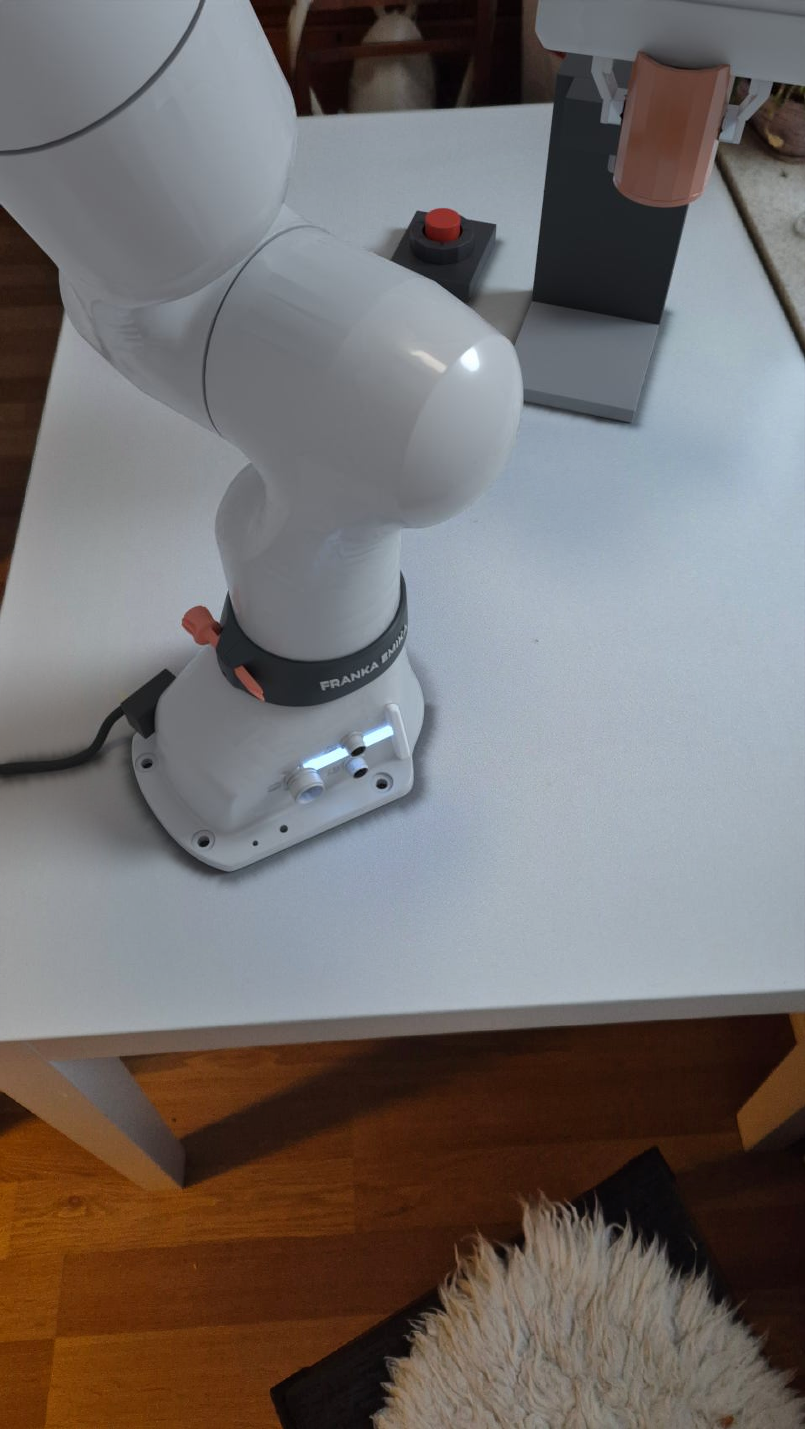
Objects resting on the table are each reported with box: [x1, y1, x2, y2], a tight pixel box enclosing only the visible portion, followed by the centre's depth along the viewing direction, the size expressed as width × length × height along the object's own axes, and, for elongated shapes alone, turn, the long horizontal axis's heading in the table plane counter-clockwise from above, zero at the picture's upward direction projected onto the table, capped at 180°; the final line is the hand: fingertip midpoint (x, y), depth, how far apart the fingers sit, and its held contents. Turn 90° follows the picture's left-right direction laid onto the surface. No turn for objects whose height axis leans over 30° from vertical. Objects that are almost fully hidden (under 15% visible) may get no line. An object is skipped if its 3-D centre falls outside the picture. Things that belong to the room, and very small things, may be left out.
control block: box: [390, 210, 498, 304], centre depth 106 cm, size 11×9×4 cm
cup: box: [613, 51, 736, 207], centre depth 70 cm, size 7×7×9 cm
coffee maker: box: [513, 52, 690, 424], centre depth 90 cm, size 17×13×23 cm
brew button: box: [425, 207, 460, 242], centre depth 104 cm, size 4×4×2 cm
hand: (671, 129), depth 71 cm, fingers closed on cup, 7 cm apart
